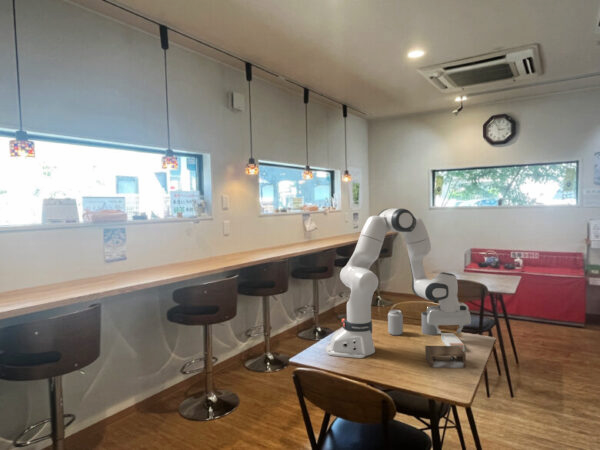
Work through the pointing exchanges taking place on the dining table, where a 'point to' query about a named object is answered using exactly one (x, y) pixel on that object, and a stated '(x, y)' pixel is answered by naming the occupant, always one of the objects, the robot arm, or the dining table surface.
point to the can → (395, 322)
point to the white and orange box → (452, 340)
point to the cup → (427, 326)
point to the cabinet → (445, 351)
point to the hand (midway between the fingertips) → (448, 333)
